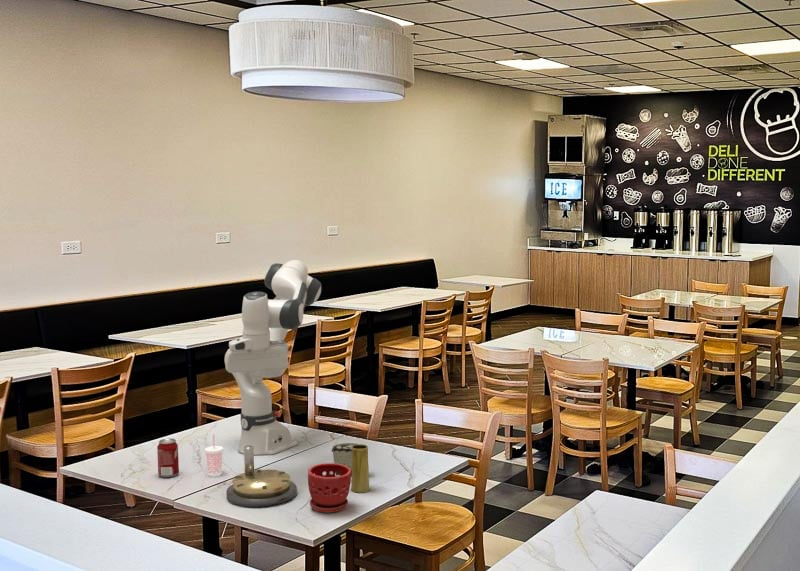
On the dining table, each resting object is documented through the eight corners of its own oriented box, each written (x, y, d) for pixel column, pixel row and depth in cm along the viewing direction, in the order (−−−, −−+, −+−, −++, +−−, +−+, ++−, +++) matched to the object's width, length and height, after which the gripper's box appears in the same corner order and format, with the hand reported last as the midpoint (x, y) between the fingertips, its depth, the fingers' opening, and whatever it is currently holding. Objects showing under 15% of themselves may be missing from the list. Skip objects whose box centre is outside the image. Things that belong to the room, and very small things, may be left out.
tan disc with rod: (302, 487, 263) (301, 450, 262) (255, 502, 250) (254, 464, 249) (267, 474, 275) (266, 439, 274) (221, 488, 263) (220, 451, 261)
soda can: (173, 479, 279) (171, 444, 277) (154, 477, 280) (153, 443, 279) (182, 472, 285) (181, 438, 284) (164, 471, 286) (162, 437, 285)
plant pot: (306, 516, 246) (305, 476, 244) (310, 499, 259) (310, 462, 257) (350, 515, 246) (349, 476, 244) (352, 499, 259) (352, 462, 257)
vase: (362, 494, 263) (362, 450, 262) (347, 490, 266) (346, 447, 265) (373, 488, 268) (373, 445, 267) (357, 485, 272) (357, 442, 270)
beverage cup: (202, 476, 281) (200, 435, 280) (212, 470, 287) (210, 430, 286) (217, 478, 279) (216, 437, 278) (227, 472, 285) (226, 432, 284)
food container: (372, 472, 284) (371, 444, 283) (365, 478, 278) (365, 449, 277) (338, 469, 288) (338, 441, 287) (331, 474, 282) (331, 446, 281)
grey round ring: (267, 478, 279) (267, 471, 278) (311, 493, 264) (311, 486, 264) (212, 496, 262) (212, 489, 262) (255, 513, 248) (255, 506, 247)
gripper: (285, 338, 278) (286, 378, 279) (224, 342, 271) (225, 384, 272) (290, 341, 272) (291, 382, 273) (226, 345, 265) (228, 388, 266)
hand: (257, 383), depth 273 cm, fingers closed
